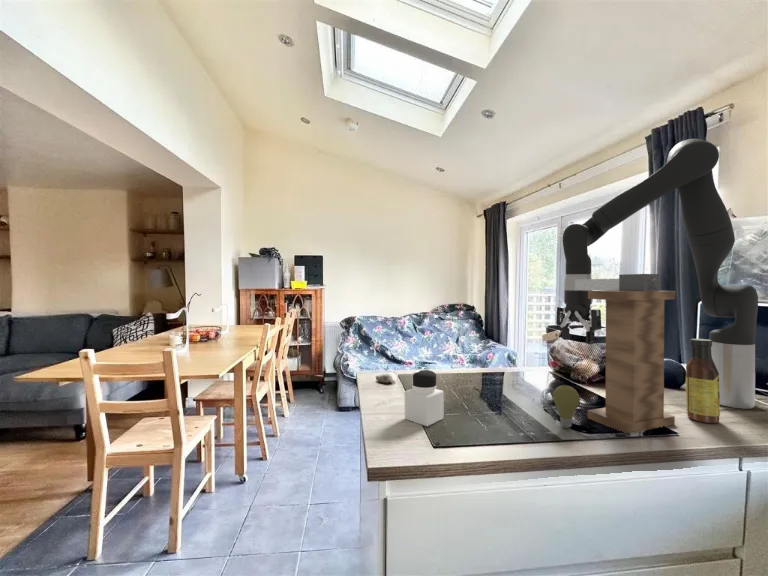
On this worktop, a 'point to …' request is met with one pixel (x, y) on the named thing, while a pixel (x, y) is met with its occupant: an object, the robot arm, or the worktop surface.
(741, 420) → the worktop surface
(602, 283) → the grey metal bar
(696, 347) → the sauce bottle
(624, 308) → the stand
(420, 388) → the medicine bottle
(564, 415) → the light bulb
